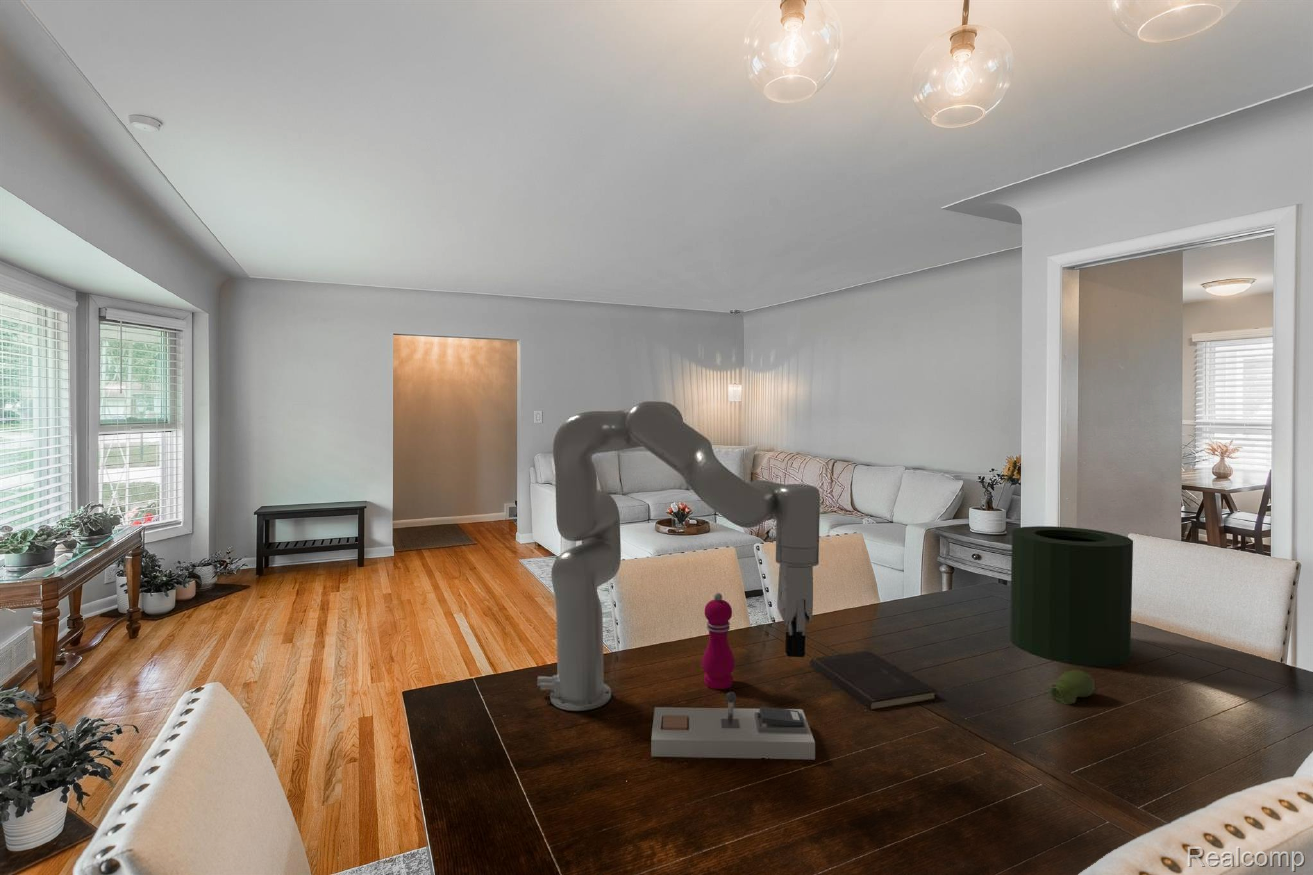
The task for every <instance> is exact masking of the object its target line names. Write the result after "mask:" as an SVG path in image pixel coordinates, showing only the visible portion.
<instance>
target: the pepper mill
mask: <svg viewBox="0 0 1313 875" xmlns="http://www.w3.org/2000/svg"><path fill="white" fill-rule="evenodd" d="M703 613H704V617H705V618H706V619H707V622H706V629H707V630H708V634H709V637H708V644H707V646H706V648H705V651H704V653H703V655H702V660H701V661H702V662H701V666H702V669H703V671H704V672H705V673H704V676H703V677H704V678H703V681H704V682H703V683H704V686H706V687H708V688H710V689H713V690H726V689H729V688H730V687H732V686H733V684H734V676H733V673H732V672H733V671H734V670H735V668H736V661H735V660H736V659H735V657H734V656H735V655H734V654H733V652H732V649H731V648H730V645H729V640H728V639H729V638H728V633H729V632H728V631H729V630H730V629H731V627H730V625H731V623H730V620H731V618H732V615H733V609H732V607H731V605H730V603H729V602H728V601H726V600H724V599H723V595H722V593H720V592H717V593H715V594H714V596H713V599H711V600H710V601H708V602H707V603H706V605H705V607H704V612H703Z"/></svg>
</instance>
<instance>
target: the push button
mask: <svg viewBox="0 0 1313 875" xmlns="http://www.w3.org/2000/svg"><path fill="white" fill-rule="evenodd" d="M663 730H687V716H685V715H663Z"/></svg>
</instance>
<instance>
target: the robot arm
mask: <svg viewBox="0 0 1313 875" xmlns="http://www.w3.org/2000/svg"><path fill="white" fill-rule="evenodd" d="M637 448H644V449H645V450H647V451H648V452H649V453H651V454H652V455H653V456H655V457H656V458H657V459H659V460H660V461H661V462H663V463H665V464H666V465H667V466H669V467H670V468H671V469H673V470H674V471H675V472H677V473H678V474H679V475H680V476H681V477H682V479H684V480H685V483H686V484H687V485H688V486H689V487H690V488H691V490H692V491H693V492H694V494H695V495H696V496H697V497H698V498H699V499H700V500H701V501H702V502H704V504H706V505H707V506H708V507H709V508H710V509H712V510H713V511H715V512H716V513H717V514H719V515H721V517H722V518H724V519H726V520H727V521H728V522H730V523H732V524H733V525H734V526H735V525H736V526H739V527H740V528H745V529H746V528H747V529H751V528H755V527H758V526H760V525H761V524H763V523H765V522H767V521H771V520H775V521H776V522H775V523H776V525H775V563H777V564H779V570H778V580H777V582H778V583H777V585H778V586H777V600H776V606H777V609H778V612H779V614H780V618H781V619H782V620H783V622H784V623H785V625H786V628H785V629H786V631H785V650H784V651H785V653H786V657H788V658H789V657H790V658H804V657H805V655H806V623H808V624H809V623H811V622H812V621H813V610H814V568H813V567H817V566H818V565H819V564H820V563H819V562H820V559H819V558H820V557H819V556H820V553H819V552H820V517H821V516H820V515H821V494H820V490H819V489H818V488H817V487H816V486H814V485H809V484H803V483H789V484H787V483H786V484H785V483H779V482H774V481H769V480H762V479H757V480H756V479H755V480H752V481H750V482H746V481H745V480H743V479H742V478H741V477H739V476H738V475H737V474H735V473H733V472H732V471H731V470H730V469H729V468H727V467H726V466H724V464H723V463H722V462H721V461H720V460H719V459H718V457H716V455H715V453H714V449H713V444H712V443H711V442H710V440H709V439H708V438H707V437H706V436H704V435H703V434H701V433H700V432H699V431H697V430H696V429H694V428H693V427H691V426H690V425H689V424H687V423H685V422H684V417H683V416H682V413H681V412H680V410H679V409H678V408H677V407H676V406H675V405H673V403H670V402H667V401H657V400H656V401H654V400H653V401H652V400H651V401H650V400H649V401H647V400H646V401H642V402H639V403H637V404H636V405H634V406H633V407H632V408H627V409H622V410H614V411H613V410H608V411H607V410H606V411H604V410H602V411H601V410H595V411H593V410H591V411H584V412H580V413H577V414H575V415H573V416H571V417H569V418H568V419H566V420H565V421H564V422H563V423H562V424H561V425H560V426H559V427H558V429H557V430H556V433H555V436H554V438H553V446H552V451H553V452H552V455H553V463H554V471H555V472H554V473H555V474H554V477H555V486H554V487H555V488H554V489H555V515H556V516H555V518H556V519H555V521H556V527H557V530H558V533H559V535H560V536H561V537H562V538H563V539H565V540H566V541H569V542H581V544H579V545H576V546H574V547H571V548H569V549H567V550H565V551H563V552H562V553H561V554H559V555H558V557H556V559H555V560H554V562H553V565H552V567H551V574H550V575H551V576H550V577H551V578H550V579H551V584H552V588H553V593H554V601H555V613H556V614H555V615H556V654H557V655H556V656H557V657H556V660H557V661H556V662H557V663H556V666H557V671H556V672H557V674H553V675H552V676H546V675H545V676H544V675H543V676H542V675H538V677H537V681H536V682H537V683H536V685H537V687H540V688H539V689H540V690H541V691H547V690H548V691H550V690H551V692H550V695H549V696H550V697H549V698H550V702H551V704H552V705H554V706H555V707H556V708H558V709H561V710H564V711H572V712H581V711H589V710H593V709H597V708H600V707H602V706H604V705H605V704H607V703H608V702H609V700H611V697H612V690H611V687H610V686H609V685H608V684H606V683H604V622H603V620H604V618H603V617H604V616H603V614H604V613H603V608H602V603H601V599H600V597H599V594H598V587H601V586H602V585H604V584H606V583H608V582H609V581H611V580H612V579H613V578H614V577H616V575H617V573H618V572H619V570H620V567H621V562H622V561H621V560H622V548H621V547H622V544H621V518H620V509H619V508H618V507H619V506H618V504H617V502H616V500H615V499H614V498H613V497H612V496H611V494H609V493H608V492H606V491H603V490H598V483H597V482H598V477H597V476H598V475H597V470H596V467H595V463H594V461H593V458H592V457H593V455H596V454H601V453H610V452H617V451H623V450H630V449H637Z"/></svg>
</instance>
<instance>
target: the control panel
mask: <svg viewBox="0 0 1313 875" xmlns="http://www.w3.org/2000/svg"><path fill="white" fill-rule="evenodd" d="M786 709H787V710H795V711H798V712H799V715H800V718H801V720H802V727H789V726H780V725H772V724H764V723H762V721H761V717H760V712H759V710H760V708H739V707H738V708H735V707H734V708H733V723H731V724H730V723H728V707H673V706H671V707H668V706H667V707H665V706H663V707H660V706H658V707H657V706H654V711H653V713H654V714H653V721H652V729H651V738H650V740H651V742H650V744H651V746H650V749H651V750H650V751H651V752H650V753H651V756H650V757H659V758H662V757H665V758H667V757H668V758H709V759H710V758H712V759H713V758H714V759H725V758H726V759H761V758H765V759H768V758H769V760H770V759H771V760H772V759H773V760H777V759H778V760H782V759H783V760H816V742H815V738H814V737H813V732H812V730H811V728H810V726H809V723H808V720H807V717H806V715H805V712H804V710H803V709H801V708H786ZM663 715H685V716H687V730H663Z"/></svg>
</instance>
